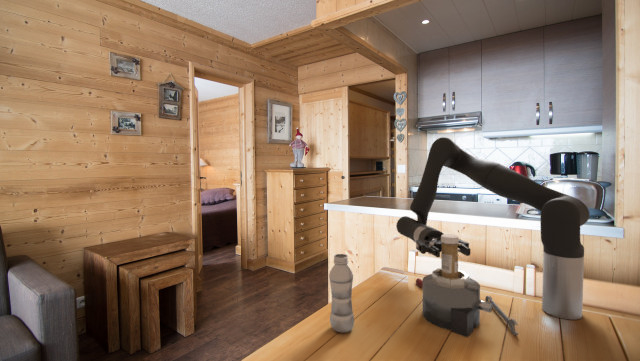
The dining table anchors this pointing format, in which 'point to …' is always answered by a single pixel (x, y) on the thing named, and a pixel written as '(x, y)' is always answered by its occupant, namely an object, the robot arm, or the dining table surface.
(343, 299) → the plastic bottle
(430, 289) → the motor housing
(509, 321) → the combination wrench
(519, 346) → the dining table surface
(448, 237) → the spice jar
